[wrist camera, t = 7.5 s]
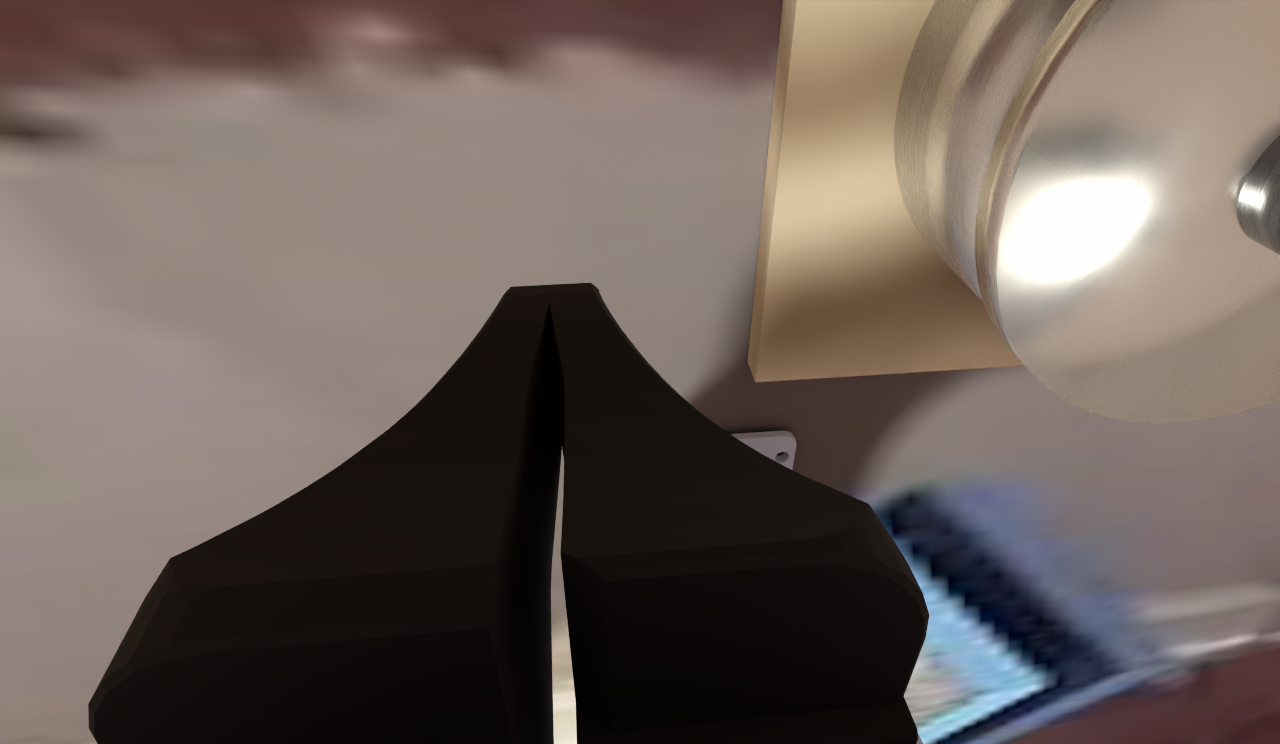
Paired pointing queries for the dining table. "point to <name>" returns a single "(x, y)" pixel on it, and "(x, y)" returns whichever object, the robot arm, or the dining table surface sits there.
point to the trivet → (851, 213)
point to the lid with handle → (1142, 210)
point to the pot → (962, 112)
